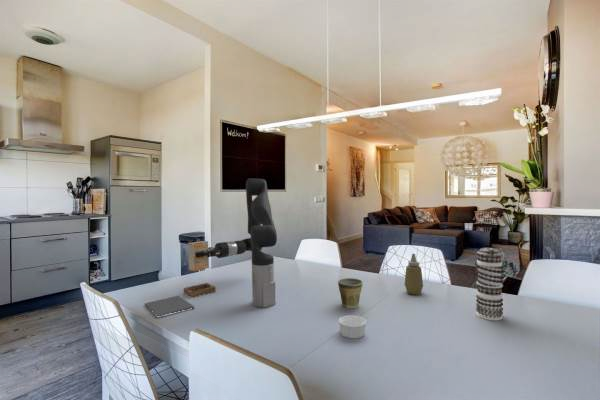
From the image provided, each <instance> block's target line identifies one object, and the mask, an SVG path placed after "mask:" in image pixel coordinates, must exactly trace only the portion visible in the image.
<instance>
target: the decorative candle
mask: <svg viewBox="0 0 600 400" xmlns="http://www.w3.org/2000/svg"><path fill="white" fill-rule="evenodd" d="M476 254H477V260H476V262H475V263H474V265H475V267H476V268H475V276H476V277H475V280H476V281H475V284H477V290H476V295H475V297H476V300H475V302H476V304H475V307H476V316H477V317H479V318H482V319H484V318H485V320H489V321H501V320H503V319H504V317H503V315H504V312H503V310H504V308H503V307H502V306H504V303H503V301H504V299H503V293H502V288H503V287H504V284H503V283H504V280H503V279H504V278H505V277H504V276H503V275H502V274H503V273H505V271H504V269H505V266H503V261H502V255H503V253H501V252H500V250H498V249H497V248H493V247H481V248H480V249H479V250H478V251H476Z"/></svg>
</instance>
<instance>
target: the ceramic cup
mask: <svg viewBox="0 0 600 400" xmlns="http://www.w3.org/2000/svg"><path fill="white" fill-rule="evenodd" d="M337 284H338V290H339V293H340V299H341V304H342V307H344V308H346V309H356V308H358V307H359V303H360V298H361V293H362V288H363V281H362V279H359V278H353V277H352V278H350V277H348V278H347V277H346V278H341V279H338V281H337Z"/></svg>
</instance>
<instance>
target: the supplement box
mask: <svg viewBox="0 0 600 400" xmlns="http://www.w3.org/2000/svg"><path fill="white" fill-rule="evenodd" d="M208 248H209V241H207V240H201V241H195V242H193V241H192V242H188V243H187V257H188V271H190V272H197V271H202V270H205V269H210V259H209V258H210V257H204V256H203V257H196V255H195V253H197V252H204V251H207V249H208Z"/></svg>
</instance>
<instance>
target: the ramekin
mask: <svg viewBox="0 0 600 400" xmlns="http://www.w3.org/2000/svg"><path fill="white" fill-rule="evenodd" d="M366 323H367V321H366V319H364V318H363V317H361V316H357V315H343V316H341V317H340V318H339V319H338V324H339V332H340V334H341V335H342V336H343V337H345V338H347V339H360V338H363V337H364V336H365V333H366Z"/></svg>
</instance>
